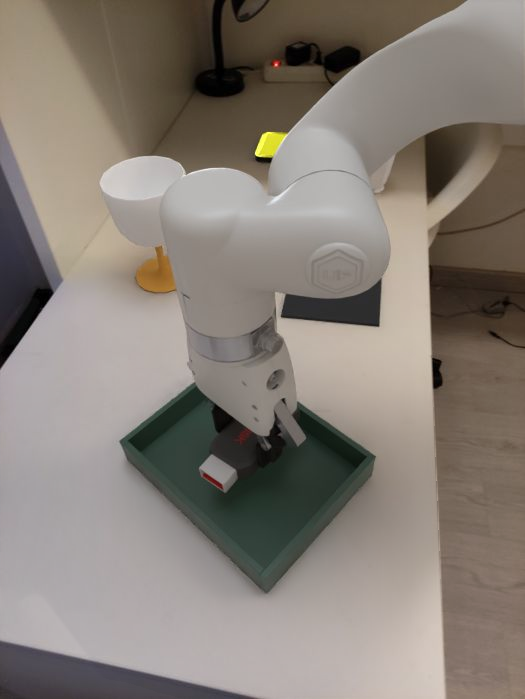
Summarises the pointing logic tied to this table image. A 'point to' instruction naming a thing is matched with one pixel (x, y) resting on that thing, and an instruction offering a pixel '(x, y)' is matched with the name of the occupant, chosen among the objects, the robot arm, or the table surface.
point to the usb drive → (233, 455)
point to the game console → (269, 146)
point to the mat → (337, 308)
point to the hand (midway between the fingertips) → (248, 439)
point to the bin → (250, 484)
